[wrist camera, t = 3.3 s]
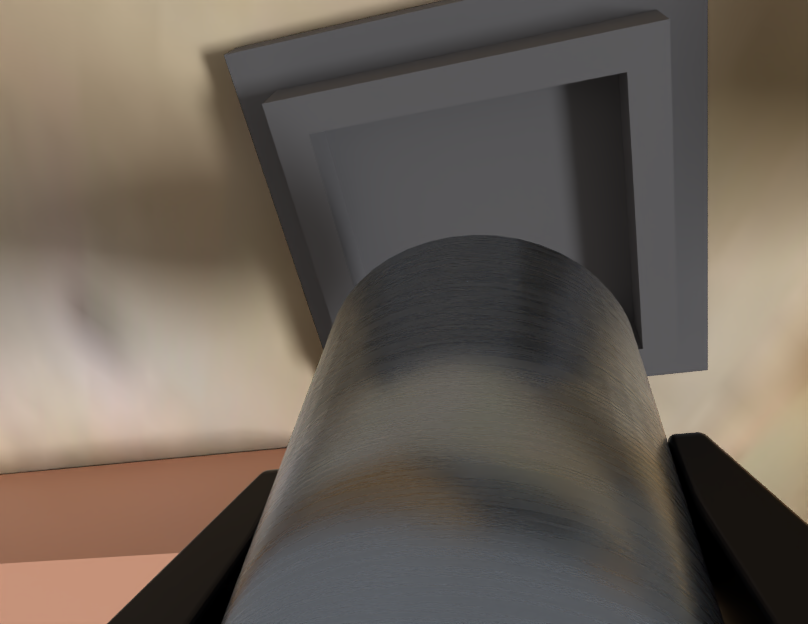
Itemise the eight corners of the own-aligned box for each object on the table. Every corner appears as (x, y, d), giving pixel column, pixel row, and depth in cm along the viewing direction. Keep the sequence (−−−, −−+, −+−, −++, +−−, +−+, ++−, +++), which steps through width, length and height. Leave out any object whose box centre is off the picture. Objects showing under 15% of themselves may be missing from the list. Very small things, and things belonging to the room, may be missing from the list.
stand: (699, 352, 18) (720, 399, 17) (348, 391, 21) (334, 435, 19) (697, -58, 14) (725, -51, 12) (235, 48, 16) (204, 66, 14)
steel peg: (644, 473, 12) (846, 1252, 5) (369, 495, 13) (228, 1163, 6) (628, 209, 9) (975, 1035, 3) (289, 261, 10) (-94, 948, 4)
